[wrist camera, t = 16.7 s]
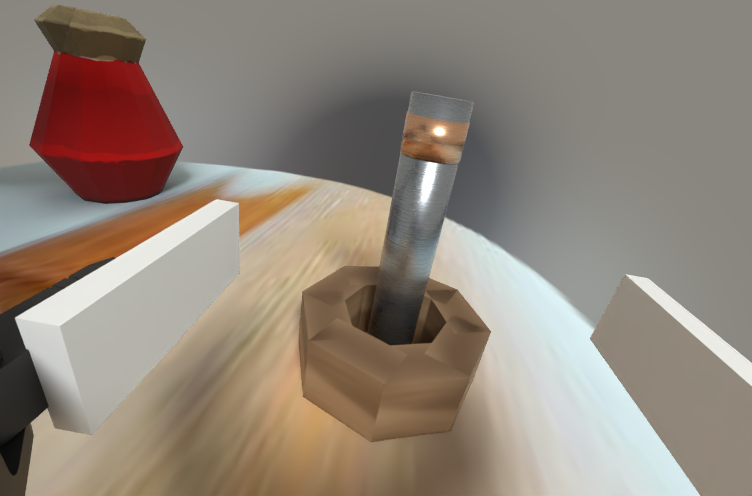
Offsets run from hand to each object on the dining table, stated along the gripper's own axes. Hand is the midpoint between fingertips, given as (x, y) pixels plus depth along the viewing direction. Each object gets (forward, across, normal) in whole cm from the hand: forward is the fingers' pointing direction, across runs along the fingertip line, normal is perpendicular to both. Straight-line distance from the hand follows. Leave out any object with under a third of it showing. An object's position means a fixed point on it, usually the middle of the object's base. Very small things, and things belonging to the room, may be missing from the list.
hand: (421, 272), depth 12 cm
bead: (+9, 0, -12) cm, 15 cm away
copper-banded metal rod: (+9, 0, -13) cm, 15 cm away
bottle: (+31, -36, -13) cm, 49 cm away
